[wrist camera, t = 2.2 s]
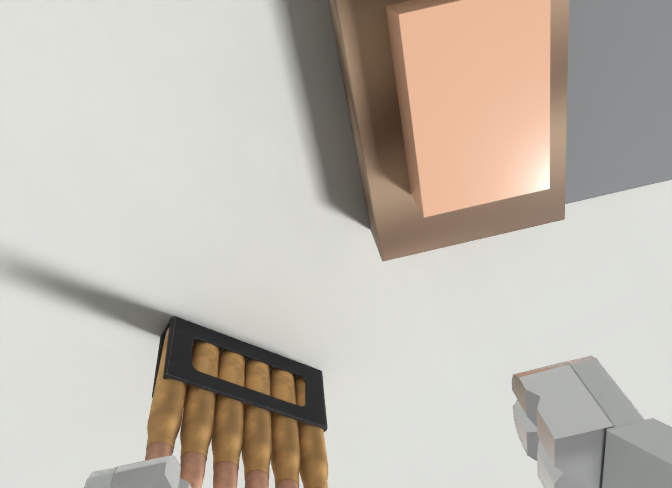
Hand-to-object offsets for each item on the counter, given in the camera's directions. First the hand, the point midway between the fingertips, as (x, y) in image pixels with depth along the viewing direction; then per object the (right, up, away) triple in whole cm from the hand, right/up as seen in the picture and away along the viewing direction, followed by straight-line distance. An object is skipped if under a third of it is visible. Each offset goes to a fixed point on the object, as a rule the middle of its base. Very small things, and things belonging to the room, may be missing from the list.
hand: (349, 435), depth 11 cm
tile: (+6, +10, +14) cm, 18 cm away
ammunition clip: (-6, -3, +26) cm, 27 cm away
